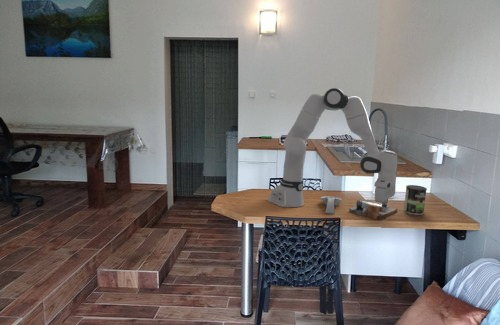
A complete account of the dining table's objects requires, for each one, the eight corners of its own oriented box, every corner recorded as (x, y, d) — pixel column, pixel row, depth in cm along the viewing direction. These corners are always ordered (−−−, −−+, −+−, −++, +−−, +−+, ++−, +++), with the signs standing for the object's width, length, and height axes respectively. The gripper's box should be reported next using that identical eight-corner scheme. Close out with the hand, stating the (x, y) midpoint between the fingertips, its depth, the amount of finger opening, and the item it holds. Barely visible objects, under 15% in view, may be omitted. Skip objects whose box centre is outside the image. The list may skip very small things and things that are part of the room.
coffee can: (427, 214, 203) (431, 189, 200) (411, 215, 200) (414, 190, 197) (414, 208, 213) (417, 184, 210) (399, 209, 210) (402, 185, 207)
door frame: (348, 211, 203) (349, 200, 202) (368, 204, 218) (369, 193, 217) (378, 220, 191) (379, 207, 190) (397, 211, 206) (398, 200, 205)
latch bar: (355, 206, 202) (355, 200, 202) (357, 205, 206) (358, 198, 205) (385, 213, 193) (385, 206, 192) (387, 211, 196) (388, 204, 196)
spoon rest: (320, 200, 223) (321, 189, 221) (340, 202, 220) (341, 190, 219) (319, 213, 200) (320, 200, 199) (341, 215, 198) (342, 202, 196)
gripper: (387, 177, 205) (385, 201, 207) (373, 183, 189) (370, 210, 192) (399, 179, 201) (397, 203, 203) (385, 185, 185) (383, 212, 188)
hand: (384, 206), depth 197 cm, fingers closed
